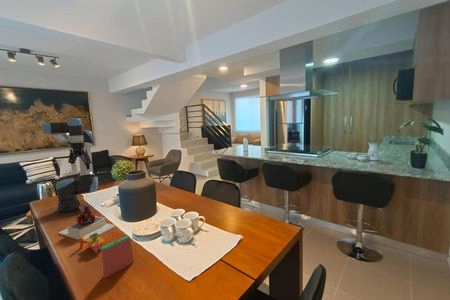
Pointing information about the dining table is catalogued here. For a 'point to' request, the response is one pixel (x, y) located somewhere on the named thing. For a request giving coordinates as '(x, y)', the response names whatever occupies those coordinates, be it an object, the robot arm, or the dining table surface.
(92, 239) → the toy building block set
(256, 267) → the dining table surface
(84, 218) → the toy fire truck
